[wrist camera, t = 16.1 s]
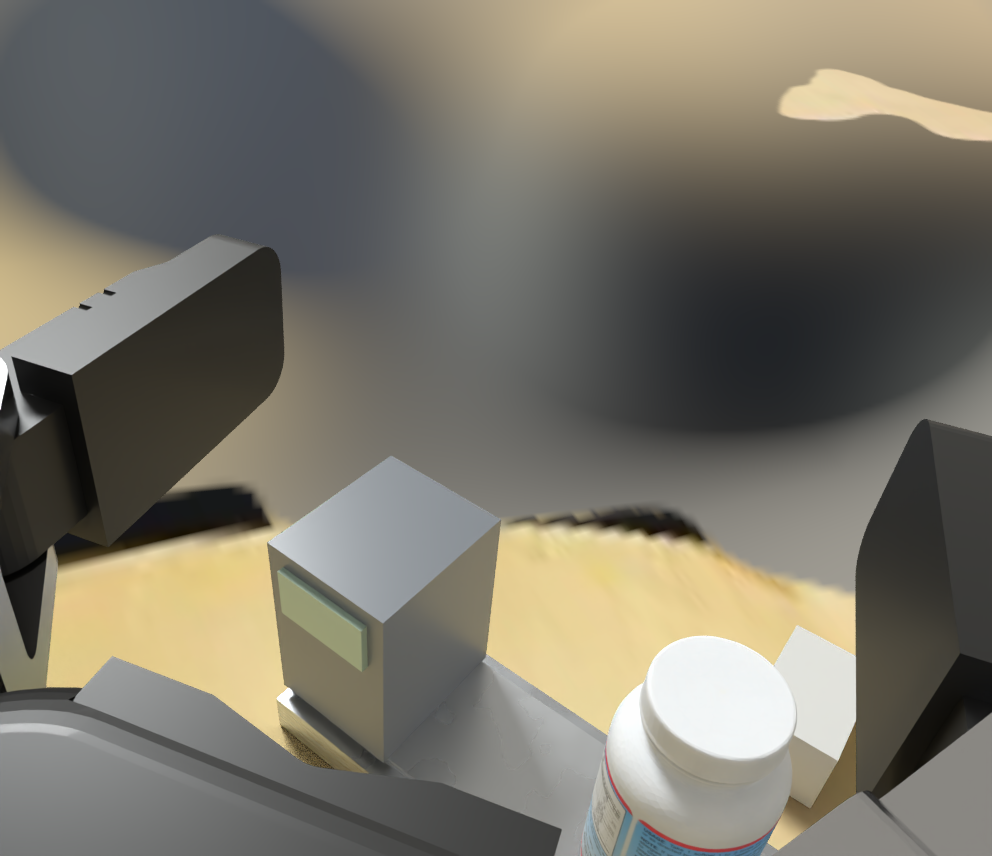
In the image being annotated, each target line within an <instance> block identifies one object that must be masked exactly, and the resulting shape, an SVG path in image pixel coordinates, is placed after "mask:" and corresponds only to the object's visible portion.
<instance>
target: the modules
mask: <svg viewBox="0 0 992 856" xmlns="http://www.w3.org/2000/svg"><path fill="white" fill-rule="evenodd" d="M500 524H501V519H499V518H498V517H496V516H494V515H492V514H491V513H489V512H487V511H486V510H484V509H482V508H480V507H479V506H477V505H475V504H474V503H472V502H470V501H468V500H467V499H465V498H463V497H461V496H460V495H458V494H456V493H455V492H453V491H451V490H449V489H448V488H446V487H444V486H443V485H441V484H439V483H437V482H435V481H434V480H432V479H431V478H429V477H427V476H425V475H423V474H422V473H420V472H418V471H417V470H415V469H413V468H411V467H410V466H408V465H406V464H405V463H403V462H401V461H399V460H398V459H396V458H394V457H393V456H390V457H389V458H387V459H386V460H384V461H383V462H381V463H380V464H379V465H378V466H376V467H374V468H373V469H372V470H370V471H369V472H367V473H366V474H364V475H363V476H362V477H360V478H359V479H357V480H356V481H354V482H353V483H351V484H350V485H349V486H347V487H346V488H344V489H343V490H341V491H340V492H339V493H337V494H336V495H334V496H333V497H331V498H330V499H329V500H327V501H326V502H324V503H323V504H322V505H320V506H319V507H317V508H316V509H314V510H313V511H312V512H310V513H309V514H307V515H306V516H304V517H303V518H302V519H300V520H299V521H297V522H296V523H294V524H293V525H292V526H290V527H289V528H287V529H286V530H284V531H283V532H282V533H280V534H279V535H277V536H276V537H274V538H273V539H272V540H270V541H269V542H267V545H268V553H269V562H270V570H271V578H272V587H273V595H274V603H275V611H276V620H277V628H278V636H279V645H280V653H281V661H282V669H283V678H284V685H286V686H287V687H288V688H289V689H291V690H292V691H293V692H294V693H296V694H297V695H298V696H300V697H301V698H302V699H303V700H305V701H306V702H307V703H308V704H310V705H311V706H312V707H313V708H315V709H316V710H317V711H318V712H320V713H321V714H322V715H323V716H325V717H326V718H327V719H329V720H330V721H331V722H332V723H334V724H335V725H336V726H337V727H339V728H340V729H341V730H342V731H344V732H345V733H346V734H347V735H349V736H350V737H351V738H352V739H354V740H355V741H356V742H357V743H359V744H360V745H361V746H363V747H364V748H365V749H366V750H368V751H369V752H370V753H371V754H373V755H374V756H375V757H376V758H378V759H379V760H380V761H381V762H383V763H384V762H385V761H386V760H387V759H388V758H389V757H390V756H391V755H392V754H393V753H394V752H395V751H396V750H397V749H398V748H399V747H400V746H401V745H402V744H403V743H404V742H405V741H406V740H407V738H408V737H409V736H410V735H411V734H412V733H413V732H414V731H415V730H416V729H417V728H418V727H419V726H420V725H421V724H422V723H423V722H424V721H425V720H426V719H427V718H428V717H429V716H430V715H431V714H432V713H433V712H434V711H435V709H436V708H437V707H438V706H439V705H440V704H441V703H442V702H443V701H444V700H445V699H446V698H447V697H448V696H449V695H450V694H451V693H452V692H453V691H454V690H455V689H456V688H457V687H458V686H459V685H460V684H461V683H462V681H463V680H464V679H465V678H466V677H467V676H468V675H469V674H470V673H471V672H472V671H473V670H474V669H475V668H476V667H477V666H478V665H479V664H480V663H481V662H482V661H483V660H484V659H485V658H486V650H487V641H488V632H489V623H490V614H491V605H492V596H493V587H494V578H495V569H496V560H497V551H498V542H499V533H500Z"/></svg>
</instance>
